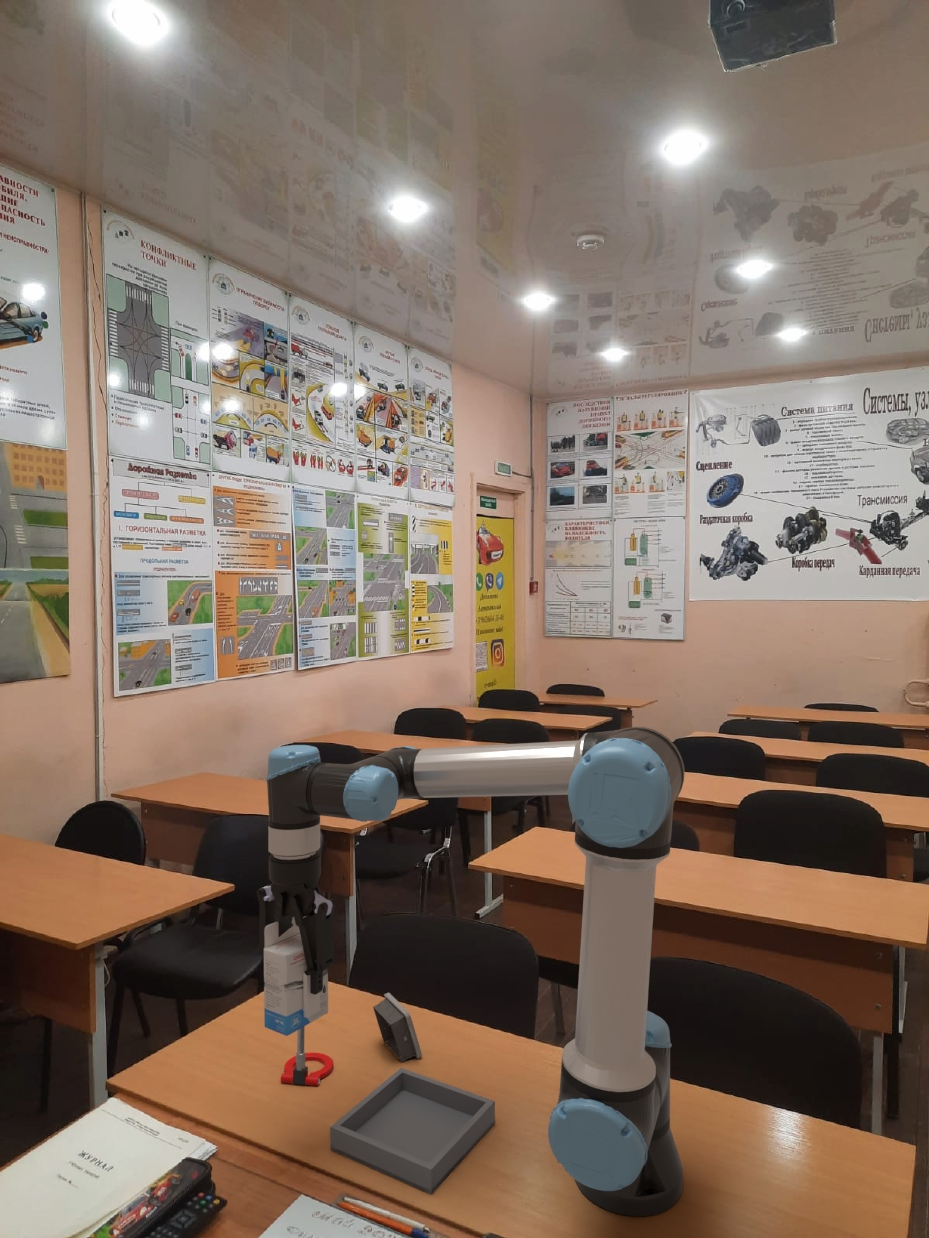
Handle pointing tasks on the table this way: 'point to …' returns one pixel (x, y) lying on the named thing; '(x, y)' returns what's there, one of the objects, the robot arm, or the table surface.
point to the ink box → (287, 981)
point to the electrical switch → (397, 1028)
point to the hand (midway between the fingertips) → (296, 1008)
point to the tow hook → (301, 1071)
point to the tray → (413, 1129)
